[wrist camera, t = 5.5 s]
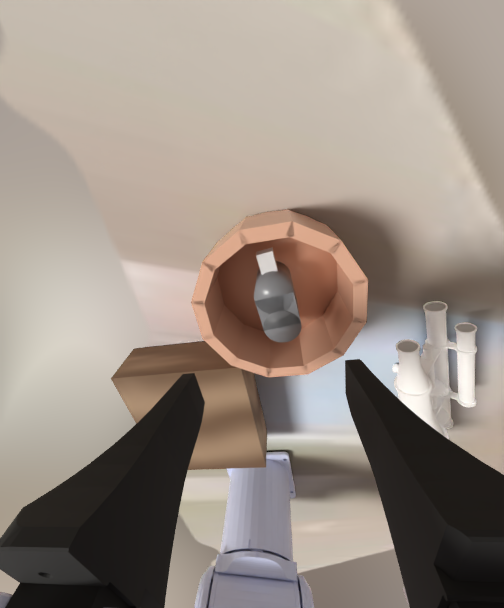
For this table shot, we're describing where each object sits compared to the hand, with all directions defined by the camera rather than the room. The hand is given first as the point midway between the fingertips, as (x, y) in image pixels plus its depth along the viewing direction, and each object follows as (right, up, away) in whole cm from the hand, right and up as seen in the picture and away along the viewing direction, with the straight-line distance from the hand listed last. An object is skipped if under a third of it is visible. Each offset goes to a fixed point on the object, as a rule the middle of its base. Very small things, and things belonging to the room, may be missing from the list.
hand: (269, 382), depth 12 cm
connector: (+1, +5, +8) cm, 9 cm away
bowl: (+1, +6, +8) cm, 10 cm away
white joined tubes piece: (+14, -2, +12) cm, 18 cm away
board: (-6, -6, +15) cm, 17 cm away
